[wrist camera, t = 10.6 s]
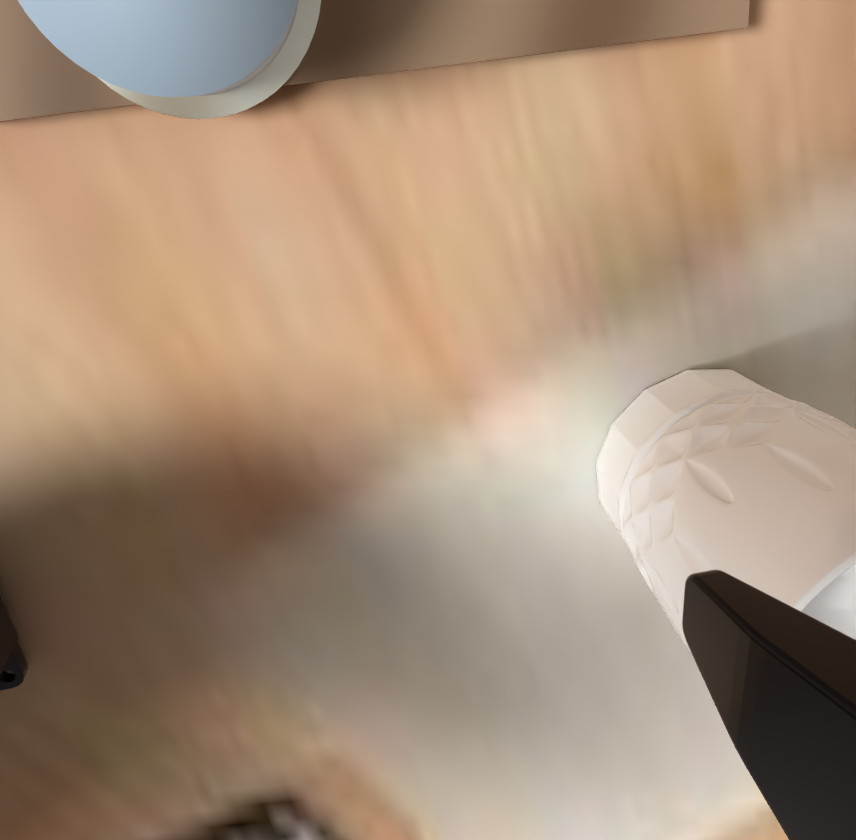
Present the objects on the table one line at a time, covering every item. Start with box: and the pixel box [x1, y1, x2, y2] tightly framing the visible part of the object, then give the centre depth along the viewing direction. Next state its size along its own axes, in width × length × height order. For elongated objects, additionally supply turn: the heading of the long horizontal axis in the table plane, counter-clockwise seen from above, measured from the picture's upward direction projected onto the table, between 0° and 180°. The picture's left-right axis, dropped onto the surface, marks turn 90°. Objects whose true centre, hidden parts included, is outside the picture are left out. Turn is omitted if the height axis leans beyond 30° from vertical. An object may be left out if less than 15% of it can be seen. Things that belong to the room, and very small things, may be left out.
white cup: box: [596, 369, 856, 656], centre depth 20 cm, size 8×8×10 cm
